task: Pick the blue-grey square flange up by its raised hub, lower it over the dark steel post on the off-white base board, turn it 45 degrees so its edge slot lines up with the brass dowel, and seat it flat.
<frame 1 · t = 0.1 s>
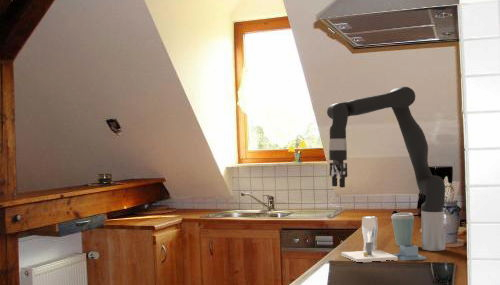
hand: (338, 186, 246), 29 cm above the worktop, tool pointing down, fingers open, 8 cm apart
post base: (368, 258, 237), on the worktop
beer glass: (370, 251, 254), on the worktop
disposable coffee cup: (403, 245, 268), on the worktop
flange: (408, 257, 237), on the worktop
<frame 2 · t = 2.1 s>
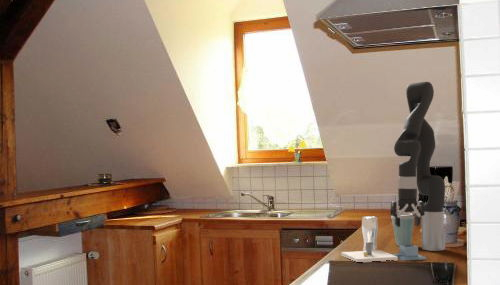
hand: (407, 226, 237), 13 cm above the worktop, tool pointing down, fingers open, 8 cm apart
nothing on the worktop moved.
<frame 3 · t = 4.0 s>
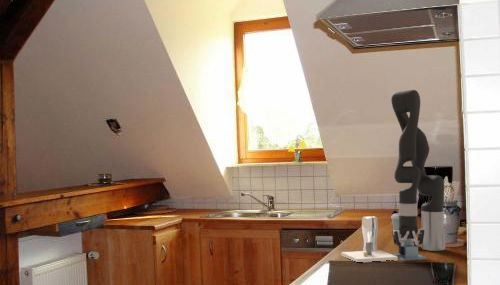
hand: (408, 254, 237), 1 cm above the worktop, tool pointing down, fingers closed on flange, 5 cm apart
flange: (408, 257, 237), on the worktop, touching gripper
everything else where it was.
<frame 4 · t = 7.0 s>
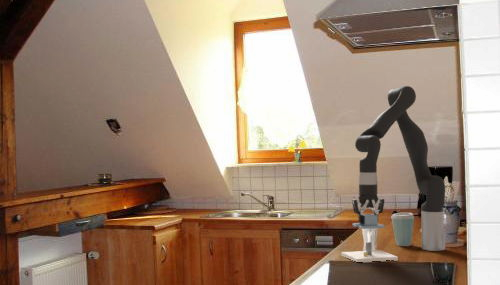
hand: (368, 223, 237), 14 cm above the worktop, tool pointing down, fingers closed on flange, 5 cm apart
flange: (368, 226, 237), point 13 cm above the worktop, touching gripper
everything else where it was.
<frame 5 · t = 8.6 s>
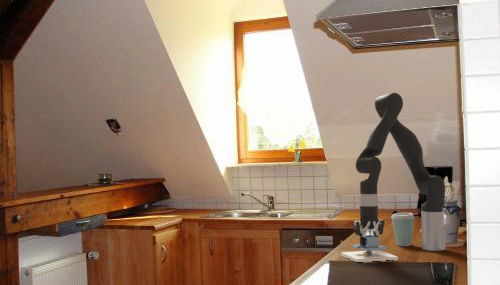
hand: (369, 245, 237), 5 cm above the worktop, tool pointing down, fingers closed on flange, 5 cm apart
flange: (369, 248, 237), point 4 cm above the worktop, touching gripper
everything else where it was.
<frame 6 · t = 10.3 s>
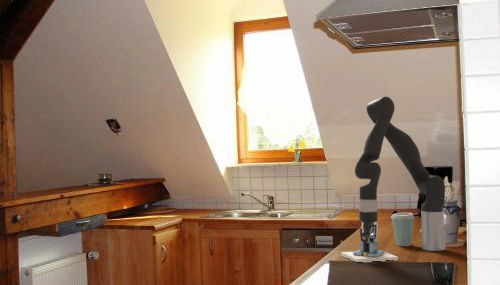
hand: (368, 250, 237), 3 cm above the worktop, tool pointing down, fingers closed on flange, 5 cm apart
flange: (368, 253, 237), point 2 cm above the worktop, touching gripper
everything else where it was.
when the fingers open (3 cm above the worktop, at t = 10.4 s): flange stays where it is, resting on post base.
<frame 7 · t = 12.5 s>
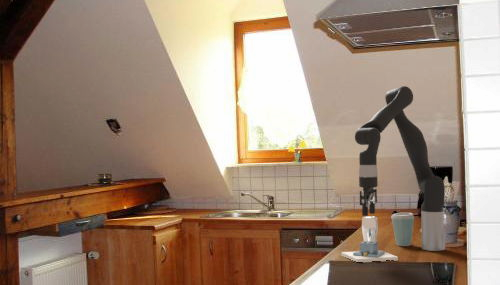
hand: (368, 214, 237), 18 cm above the worktop, tool pointing down, fingers open, 8 cm apart
flange: (369, 254, 237), point 1 cm above the worktop, touching post base
everything else where it was.
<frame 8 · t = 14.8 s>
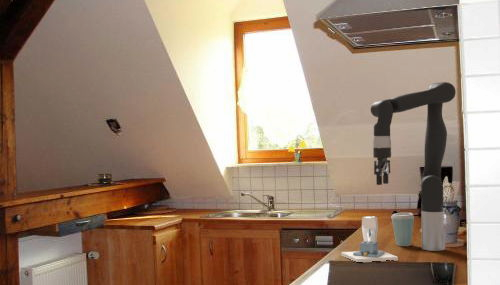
hand: (382, 184, 246), 30 cm above the worktop, tool pointing down, fingers open, 8 cm apart
nothing on the worktop moved.
at the end: flange point 1.5 cm above the worktop; flange 0.1 cm from the post base (horizontally); flange tilted 0° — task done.
